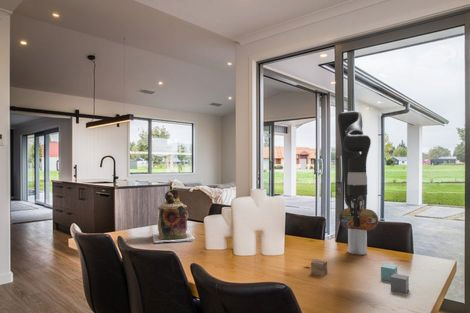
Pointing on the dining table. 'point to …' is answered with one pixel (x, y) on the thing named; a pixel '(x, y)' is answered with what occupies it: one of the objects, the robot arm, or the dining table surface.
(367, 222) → the tin
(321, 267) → the brownish grey cube
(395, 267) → the slate-teal cube
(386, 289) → the dining table surface
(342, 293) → the dining table surface
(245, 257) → the dining table surface
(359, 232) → the robot arm
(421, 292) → the dining table surface
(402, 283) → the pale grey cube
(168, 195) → the cookie jar
